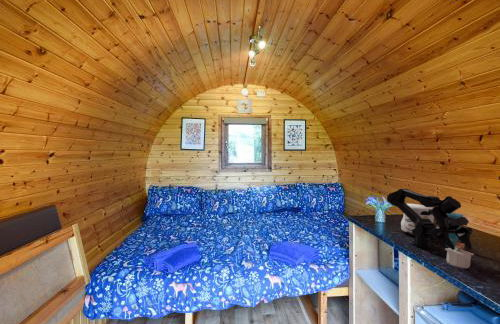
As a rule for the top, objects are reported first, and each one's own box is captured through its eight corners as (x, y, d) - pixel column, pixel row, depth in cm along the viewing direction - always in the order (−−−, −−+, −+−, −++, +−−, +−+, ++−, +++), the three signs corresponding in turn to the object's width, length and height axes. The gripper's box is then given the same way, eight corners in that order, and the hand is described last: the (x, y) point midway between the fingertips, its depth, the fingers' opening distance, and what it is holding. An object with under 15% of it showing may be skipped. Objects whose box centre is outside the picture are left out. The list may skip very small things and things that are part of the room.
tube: (459, 247, 133) (463, 213, 132) (459, 250, 130) (463, 215, 129) (442, 243, 138) (446, 210, 137) (441, 245, 135) (445, 211, 134)
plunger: (447, 260, 114) (449, 240, 113) (454, 259, 116) (456, 240, 115) (461, 265, 109) (463, 245, 108) (468, 264, 111) (470, 244, 110)
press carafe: (442, 261, 114) (444, 248, 114) (456, 258, 118) (457, 246, 118) (462, 269, 107) (464, 255, 107) (475, 266, 111) (477, 253, 110)
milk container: (406, 237, 145) (409, 207, 144) (396, 228, 162) (398, 202, 161) (439, 241, 141) (442, 211, 140) (425, 232, 158) (428, 205, 157)
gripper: (438, 209, 113) (459, 242, 103) (471, 210, 116) (495, 242, 106) (421, 221, 121) (440, 252, 111) (453, 221, 124) (473, 251, 114)
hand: (462, 249), depth 110 cm, fingers open, 9 cm apart
